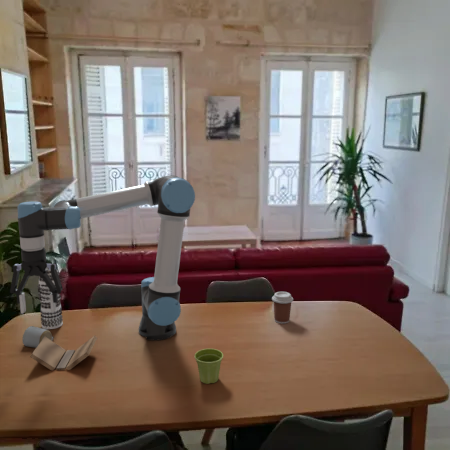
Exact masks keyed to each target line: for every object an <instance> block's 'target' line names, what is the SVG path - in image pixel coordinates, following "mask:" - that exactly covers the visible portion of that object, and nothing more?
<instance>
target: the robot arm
mask: <svg viewBox="0 0 450 450" xmlns="http://www.w3.org/2000/svg"><path fill="white" fill-rule="evenodd" d="M195 192H196V191H195V189H194V187H193V186H192V185H191V183H190V182H189V181H188V180H186V179H184V178H183V177H180V176H177V175H173V174H171V175H170V174H168V175H164V176H161V177H158V178H155V179H154V178H153V179H151V180H146V181H145V182H144V183H143V184H141V185H135V186H130V187H126V188H121V189H117V190H111V191H107V192H103V193H102V192H101V193H98V194H93V195H88V196H83V197H80V198H79V197H78V198H74V199H69V200H65V199H63V200H60V201H59V200H58V201H57V202H56V203H55V204H54V205H53V207H44V206H43V204H42V202H40V201H24V202H20V203H19V204H18V205H17V222H18V231H19V233H18V234H19V242H20V244H19V246H20V249H21V251H20V253H21V263H20V264H19V263H15V264H14V265H12V272H13V273H12V279H11V284H10V288H9V289H10V290H9V293H10V294H15V296H16V303H17V304H19V306H20V314H24V313H26V311H27V306H26V305H27V304H26V294H25V293H26V292H23V291H24V288H25V286H26V284H27V282H28V280H29V278H30V277H34V276H36V277H39V276H40V277H41V278H42V279H43V280H44V282H45V283H46V285H47V286H48V288H49V289H50V291H51V292H52V293H51V294H50V304H51V313H54V312H55V310H56V305H55V303H56V302H57V301H58V294H57V293H58V292H61V293H62V291H63V289H64V287H63V284H62V282H61V281H60V280H61V278H60V275H59V272H58V273H57V270H58V269H57V263H56V262H52V263H49V262H48V261H47V254H46V253H47V252H46V248H45V247H46V243H45V242H46V241H45V240H46V239H45V231H53V230H54V231H56V230H57V231H58V230H73V229H74V230H75V229H79V228H81V226H82V222H81V221H82V219H85V218H90V217H95V216H98V215H104V214H108V213H113V212H117V211H123V210H127V209H132V208H136V207H141V206H145V205H149V206H151V207H153V206H154V207H155V206H157V211H156V213H157V215H158V216H159V217H160V224H159V231H158V242H157V249H156V250H157V251H156V259H155V266H154V267H155V268H154V274H153V275H154V276H152V277H151V276H149V277H147V278H144V279H143V280H141V286H140V288H141V311H142V314H141V318H140V323H139V326H138V334H139V335H140V336H142V337H145V338H146V340H148V341H163V340H166V339H170V338H172V337H174V336H175V334H176V333H177V325H176V323H175V322H176V321H177V320H178V318H180V315H181V311H182V309H181V303H180V293H181V287H180V286H179V284H178V277H179V269H180V262H181V252H182V246H183V236H184V229H185V221H186V220H187V219H189V218H190V213H191V208H192V207H193V205H194V203H195V200H196V193H195ZM47 267H48V268H49V270H51V275H52V278H53V280H54V283H55V285H54V283H53V282H52V280H51V279H50V277H49V276H48V273H47V272H46V270H45V269H46V268H47ZM21 270H23V271H24V274H23V276H22V279H21V281H20V283H19V278H20V272H21ZM18 284H19V285H18ZM55 286H56V287H55Z"/></svg>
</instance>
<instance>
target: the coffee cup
mask: <svg viewBox="0 0 450 450" xmlns="http://www.w3.org/2000/svg"><path fill="white" fill-rule="evenodd" d="M271 300H272V301H273V315H274V316H273V317H274V318H273V320H274V322H275V323H277V324H288V323H289V322H290V318H291V310H292V309H291V308H292V302H293V301H294V298H293V296H292V294H291V293H290V292H287V291H277V292H275V293H274V295H273V296H272V297H271Z"/></svg>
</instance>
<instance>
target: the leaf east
mask: <svg viewBox="0 0 450 450" xmlns="http://www.w3.org/2000/svg"><path fill="white" fill-rule="evenodd" d="M66 351H67V350H66V349H65V348H64V347H62V346H60V345H59V344H58V343H56V342H54V341H53V340H52V341H51V340H50V339H48V338H47V337H44V338H43V340H42V341H41V342H40V344H39V345H38V346H37V348H35V349H34V350H33V352H32V353H31V354H30V355H29V356H30V357H29V358H31V359H33V360H34V361H36V362H37V363H39V364H41V365H42V366H44V367H45V368H47V369H48V370H50V371H54V370H55V369H56V368H57V366H58V365H59V363H60V361H61V359H62V358H63V356H64V354H65V353H66Z"/></svg>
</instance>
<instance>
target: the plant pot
mask: <svg viewBox="0 0 450 450" xmlns="http://www.w3.org/2000/svg"><path fill="white" fill-rule="evenodd" d="M194 359H195V361H196V363H197V368H198V369H197V370H198V374H199V375H198V376H199V380H200V382H201V383H203V384H206V385H207V384H208V385H209V384H215V383H217V382H218V381H219V377H220V371H221V363H222V360H223V359H224V354H223V352H222V351H221V350H219V349H217V348H216V349H215V348H204V349H199V350H197V351H196V352H195V353H194Z"/></svg>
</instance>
